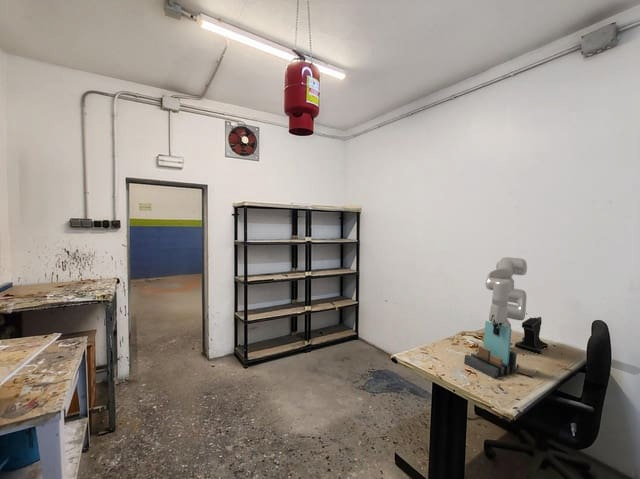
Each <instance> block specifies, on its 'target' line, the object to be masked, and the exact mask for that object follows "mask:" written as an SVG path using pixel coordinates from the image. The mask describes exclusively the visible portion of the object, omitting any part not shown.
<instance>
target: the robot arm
mask: <svg viewBox="0 0 640 479" xmlns="http://www.w3.org/2000/svg"><path fill="white" fill-rule="evenodd" d="M495 265H496V266H495V267H496V269H494V270H492V271H490V272H488V274H487V276H486V280H485V288H486V289H487V290H489V291H492V298H491V299H492V300H491V306H490V308H489V316H488V321H489V322H491V324H492V325H493V334H495V335H499V330H500V329H499V325H501V326H504V327H507V328H510V329H512V325H511V323H510V320H509V319H511V320H516V321H525V318H526V310H527V309H526V308H527V292H526V291H525V290H523V289H519V288H515V280H514V279H513V277H514V276H513V275H516V276H525V275H526V274H527V271H528V263H527V261H526V260H525V259H523V258H519V257H508V256H506V257H501V259H500V260H499V261H497V262H496V264H495ZM512 303H513V304H512ZM511 346H513V343H512V342H510V347H511ZM510 351H512V348H510ZM512 352H513V351H512Z"/></svg>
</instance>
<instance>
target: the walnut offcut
mask: <svg viewBox="0 0 640 479" xmlns="http://www.w3.org/2000/svg"><path fill="white" fill-rule="evenodd" d="M478 355H479V356H481V357H483V358H485V359H487V360H490V350H488V349H486V348H484V346H482V345H480V346H478Z"/></svg>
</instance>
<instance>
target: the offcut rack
mask: <svg viewBox="0 0 640 479" xmlns="http://www.w3.org/2000/svg"><path fill="white" fill-rule="evenodd" d="M517 354H518V353H516V352H513V351H510V354H509V364H508V365H507V364H505V363H503V362H502V366H501V365H498V364H496V363H494V362H492V361H490V360H487V359H485V358H483V357H481V356H479V355H478V352H476V353H474V352H473V353H470V354H464V360H463V361H464V362H463V363H464V365H466V366H468V367H470V368H472V369H473V370H476V371H477V372H480V373H482V374H484V375H486V376H488V377H490V378H491V379H494V380H496V379H500V378H504V377H506V376H511V375H513V374H515V373H516V366H517Z"/></svg>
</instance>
